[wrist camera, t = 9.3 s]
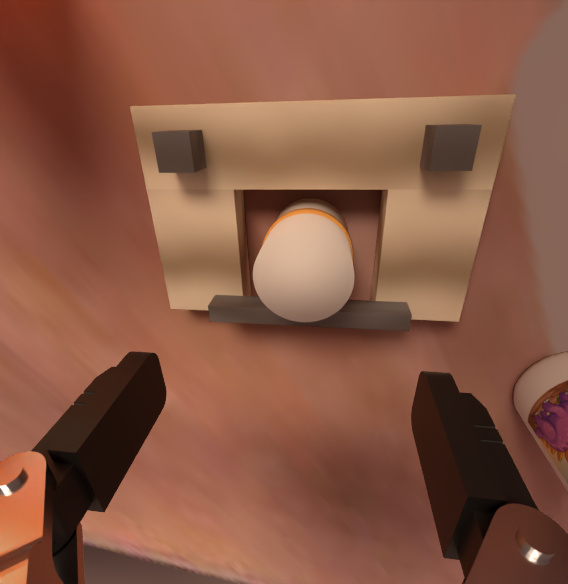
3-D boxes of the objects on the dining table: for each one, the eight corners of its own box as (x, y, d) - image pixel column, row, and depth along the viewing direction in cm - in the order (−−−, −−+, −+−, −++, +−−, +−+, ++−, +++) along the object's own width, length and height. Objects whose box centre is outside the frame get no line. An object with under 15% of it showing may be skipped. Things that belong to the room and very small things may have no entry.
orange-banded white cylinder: (269, 196, 23) (247, 227, 16) (351, 196, 22) (360, 228, 16) (273, 270, 25) (254, 321, 19) (347, 272, 24) (352, 325, 18)
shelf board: (150, 107, 21) (108, 105, 17) (495, 96, 19) (538, 91, 15) (183, 293, 27) (158, 323, 23) (447, 303, 25) (469, 339, 21)
